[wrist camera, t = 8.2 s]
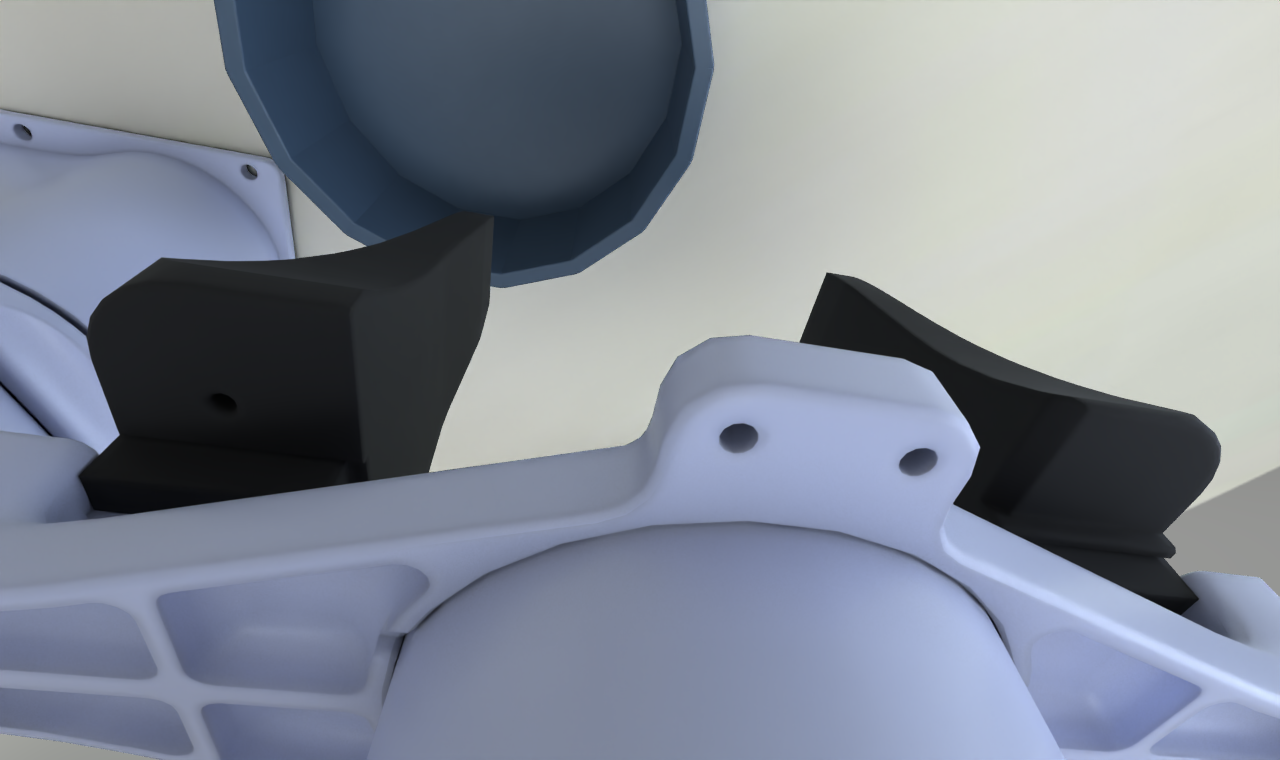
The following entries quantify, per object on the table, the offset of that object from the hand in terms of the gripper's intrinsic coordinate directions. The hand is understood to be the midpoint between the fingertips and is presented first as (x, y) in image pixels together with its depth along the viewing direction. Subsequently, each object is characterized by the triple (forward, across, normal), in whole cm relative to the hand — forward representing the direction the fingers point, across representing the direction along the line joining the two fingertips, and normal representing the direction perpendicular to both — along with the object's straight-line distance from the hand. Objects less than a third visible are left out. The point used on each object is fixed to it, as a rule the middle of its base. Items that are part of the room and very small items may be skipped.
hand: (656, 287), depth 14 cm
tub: (+10, +5, -3) cm, 12 cm away
